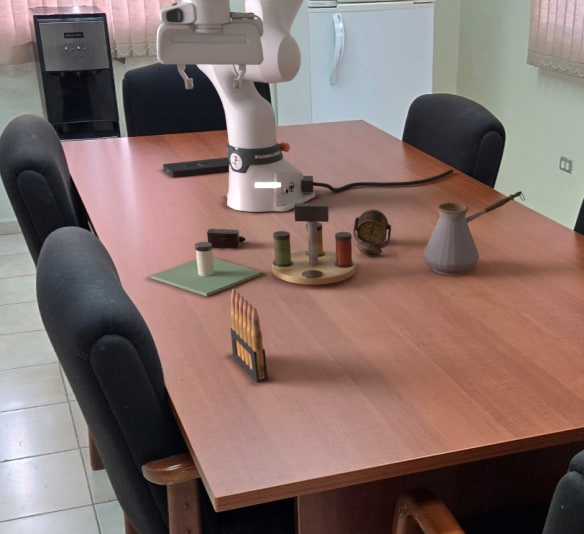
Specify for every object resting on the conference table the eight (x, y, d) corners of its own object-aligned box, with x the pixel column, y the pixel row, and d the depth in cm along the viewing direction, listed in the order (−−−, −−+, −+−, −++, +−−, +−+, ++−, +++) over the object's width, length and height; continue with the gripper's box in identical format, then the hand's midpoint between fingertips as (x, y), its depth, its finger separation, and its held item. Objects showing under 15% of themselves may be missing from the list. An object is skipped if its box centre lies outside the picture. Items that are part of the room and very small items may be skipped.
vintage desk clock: (406, 217, 206) (366, 201, 207) (383, 228, 195) (340, 211, 196) (398, 248, 209) (358, 232, 211) (375, 261, 198) (333, 244, 200)
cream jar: (194, 273, 186) (191, 244, 183) (208, 269, 188) (205, 240, 185) (204, 277, 184) (201, 248, 181) (218, 273, 186) (215, 244, 183)
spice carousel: (255, 269, 188) (250, 203, 181) (317, 250, 199) (314, 188, 192) (310, 291, 179) (307, 223, 172) (372, 270, 190) (371, 205, 183)
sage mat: (207, 258, 195) (207, 255, 195) (262, 274, 188) (261, 271, 188) (151, 278, 184) (150, 275, 184) (206, 296, 177) (206, 293, 177)
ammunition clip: (232, 356, 156) (225, 287, 150) (243, 354, 157) (237, 285, 151) (256, 382, 148) (250, 310, 142) (267, 379, 149) (262, 308, 143)
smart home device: (161, 163, 249) (234, 155, 259) (162, 170, 250) (234, 162, 260) (172, 171, 244) (245, 163, 253) (172, 177, 244) (246, 169, 254)
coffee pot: (434, 281, 189) (436, 206, 181) (415, 262, 198) (416, 190, 190) (530, 271, 196) (536, 198, 188) (507, 253, 205) (512, 183, 197)
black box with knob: (241, 249, 200) (240, 234, 199) (207, 247, 200) (206, 232, 199) (246, 242, 204) (244, 227, 203) (213, 240, 204) (211, 225, 203)
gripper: (261, 10, 185) (266, 85, 193) (152, 8, 181) (162, 85, 189) (262, 14, 180) (267, 91, 187) (151, 12, 176) (160, 91, 183)
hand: (214, 88), depth 188 cm, fingers open, 8 cm apart
